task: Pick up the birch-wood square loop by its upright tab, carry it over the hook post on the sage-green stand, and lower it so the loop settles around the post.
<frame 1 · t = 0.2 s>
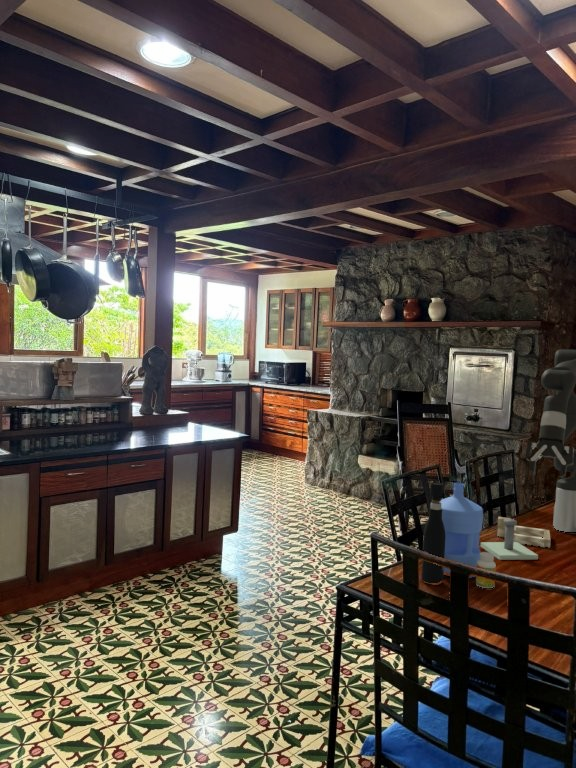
hand: (547, 475, 189), 31 cm above the table, tool tilted 20°, fingers open, 8 cm apart
wine bottle: (432, 582, 177), on the table
hook post: (508, 552, 207), on the table
birch loop: (529, 539, 223), on the table
supplement bottle: (485, 586, 175), on the table
water jug: (454, 570, 188), on the table
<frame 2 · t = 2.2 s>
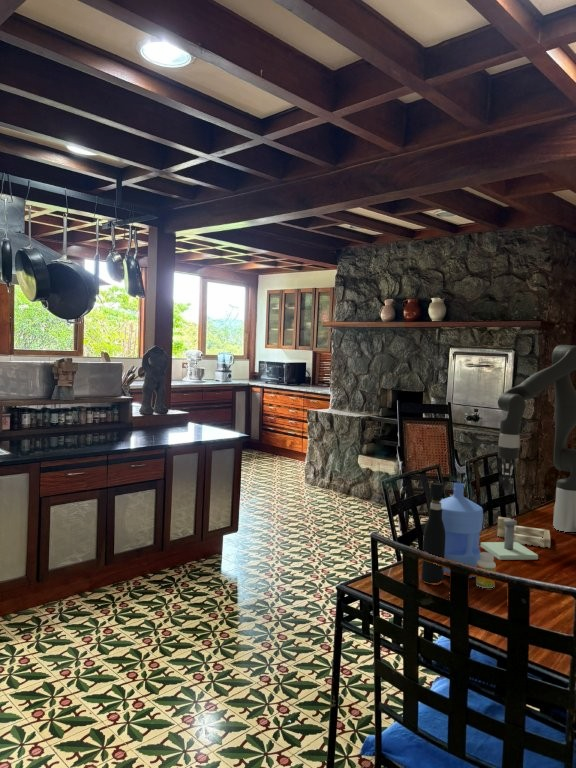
hand: (506, 487, 226), 19 cm above the table, tool pointing down, fingers open, 8 cm apart
nothing on the table moved.
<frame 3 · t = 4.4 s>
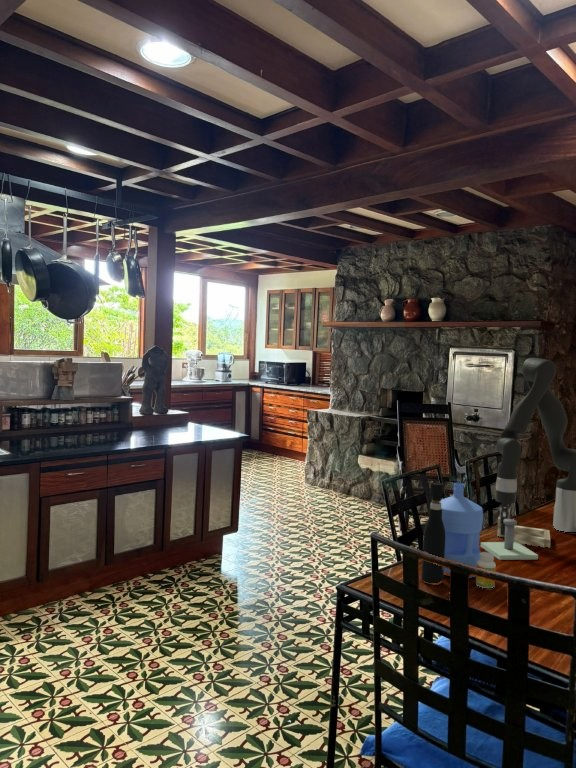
hand: (503, 533, 227), 1 cm above the table, tool pointing down, fingers closed on birch loop, 3 cm apart
birch loop: (529, 539, 223), on the table, touching gripper
everything else where it was.
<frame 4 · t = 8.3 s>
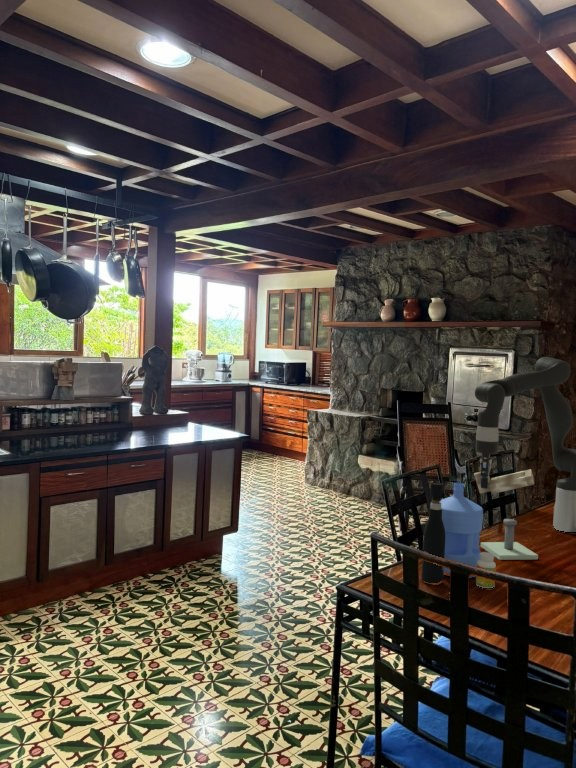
hand: (484, 487, 210), 22 cm above the table, tool pointing down, fingers closed on birch loop, 3 cm apart
birch loop: (513, 485, 206), point 24 cm above the table, tilted 20°, touching gripper
everything else where it was.
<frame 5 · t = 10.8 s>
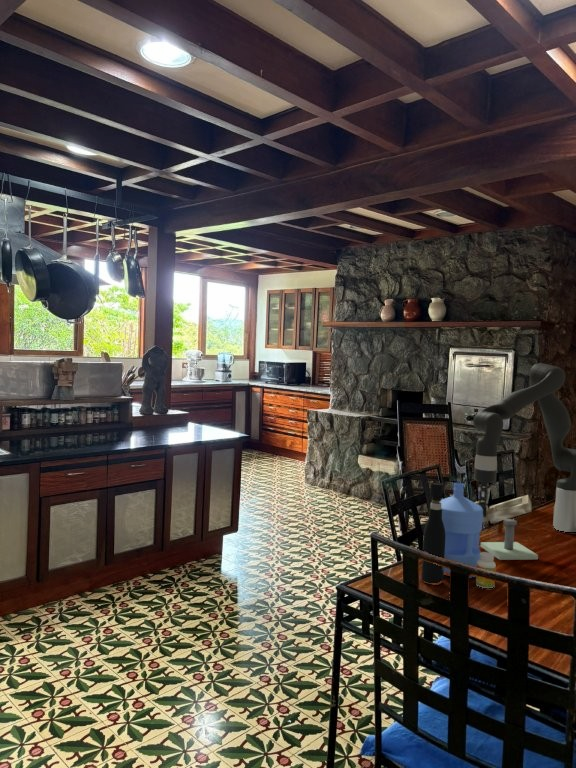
hand: (482, 515, 210), 12 cm above the table, tool pointing down, fingers closed on birch loop, 3 cm apart
birch loop: (511, 512, 206), point 14 cm above the table, tilted 25°, touching gripper
everything else where it was.
when the fingers open (5 cm above the table, at t = 12.5 s): birch loop drops 6 cm, resting on hook post.
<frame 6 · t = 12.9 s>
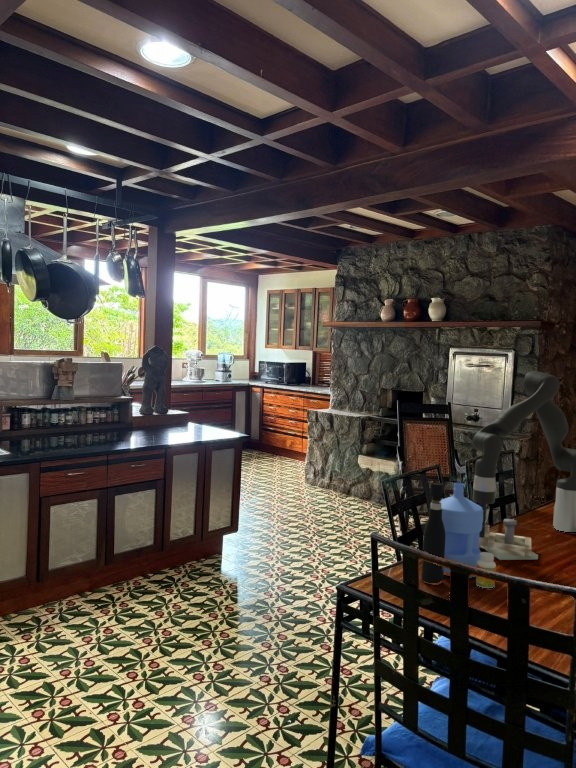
hand: (481, 534, 210), 5 cm above the table, tool pointing down, fingers open, 6 cm apart
birch loop: (509, 548, 207), point 1 cm above the table, touching hook post
everything else where it was.
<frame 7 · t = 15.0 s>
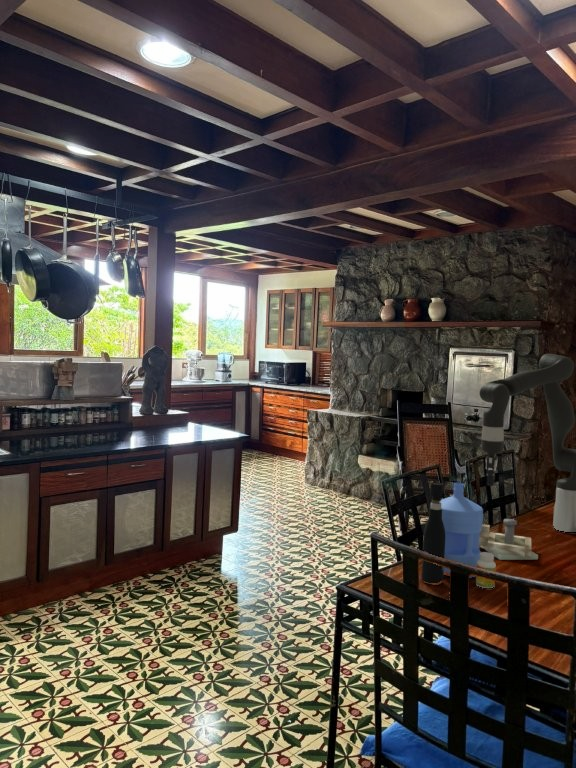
hand: (490, 483, 212), 23 cm above the table, tool pointing down, fingers open, 8 cm apart
nothing on the table moved.
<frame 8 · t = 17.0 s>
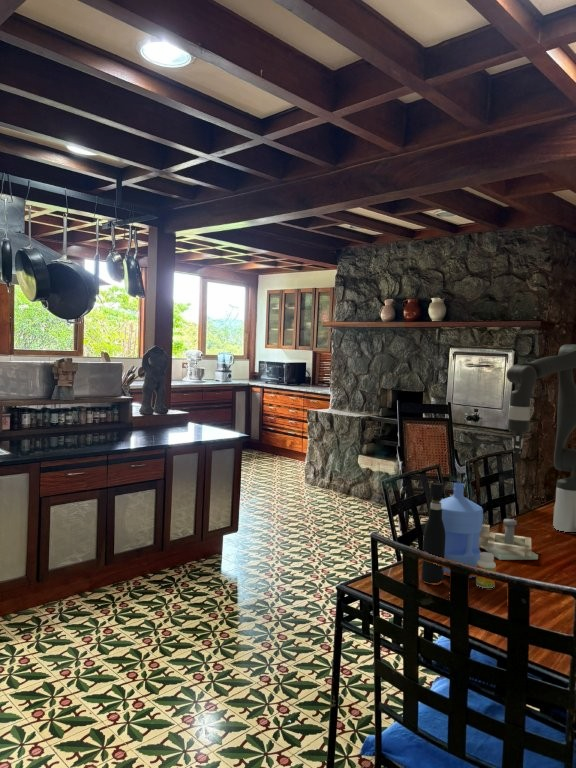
hand: (516, 461, 221), 30 cm above the table, tool pointing down, fingers open, 8 cm apart
nothing on the table moved.
at the end: birch loop 0.2 cm off-centre on the hook post, point 1.5 cm above the hook post's base; the gripper is holding nothing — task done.
